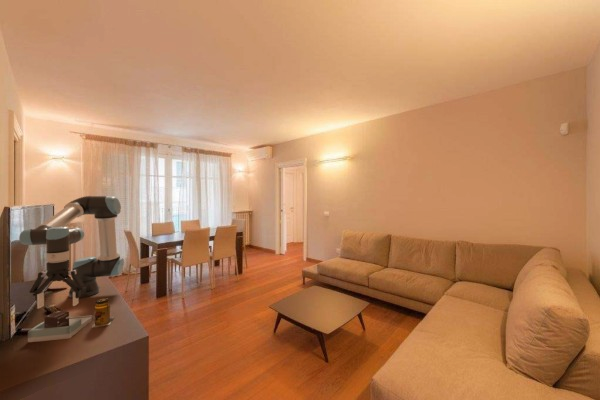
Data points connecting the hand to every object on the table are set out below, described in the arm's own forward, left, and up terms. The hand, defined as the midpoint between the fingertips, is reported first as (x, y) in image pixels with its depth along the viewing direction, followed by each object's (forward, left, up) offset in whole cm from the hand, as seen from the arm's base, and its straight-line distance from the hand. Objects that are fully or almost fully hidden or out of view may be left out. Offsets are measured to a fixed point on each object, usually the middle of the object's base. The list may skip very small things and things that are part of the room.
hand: (58, 306), depth 114 cm
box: (0, 0, -11) cm, 11 cm away
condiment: (-8, +15, -13) cm, 21 cm away
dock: (-3, 0, -13) cm, 13 cm away
